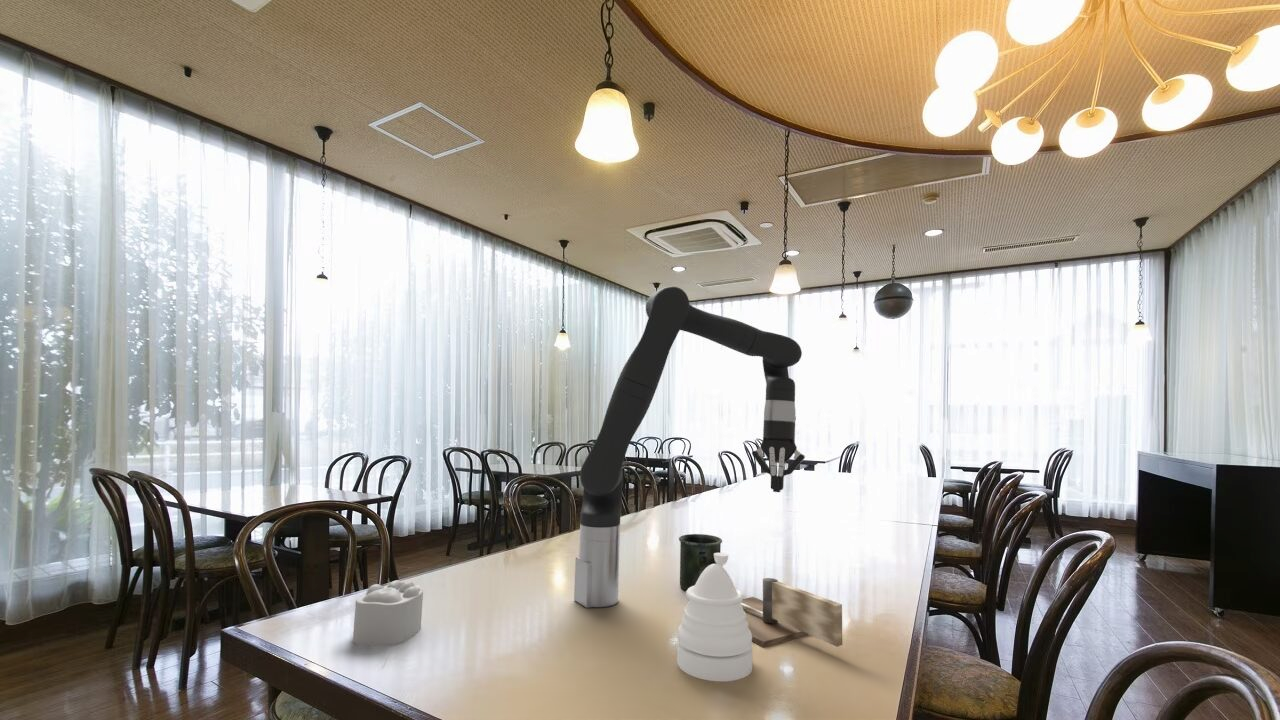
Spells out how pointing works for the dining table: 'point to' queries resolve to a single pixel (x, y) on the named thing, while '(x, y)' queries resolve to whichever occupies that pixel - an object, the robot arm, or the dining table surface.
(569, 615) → the dining table surface
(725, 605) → the honey pot
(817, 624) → the plank on dark post
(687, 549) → the mug
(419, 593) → the lumpy-topped squat cylinder
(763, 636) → the wooden sign stand
